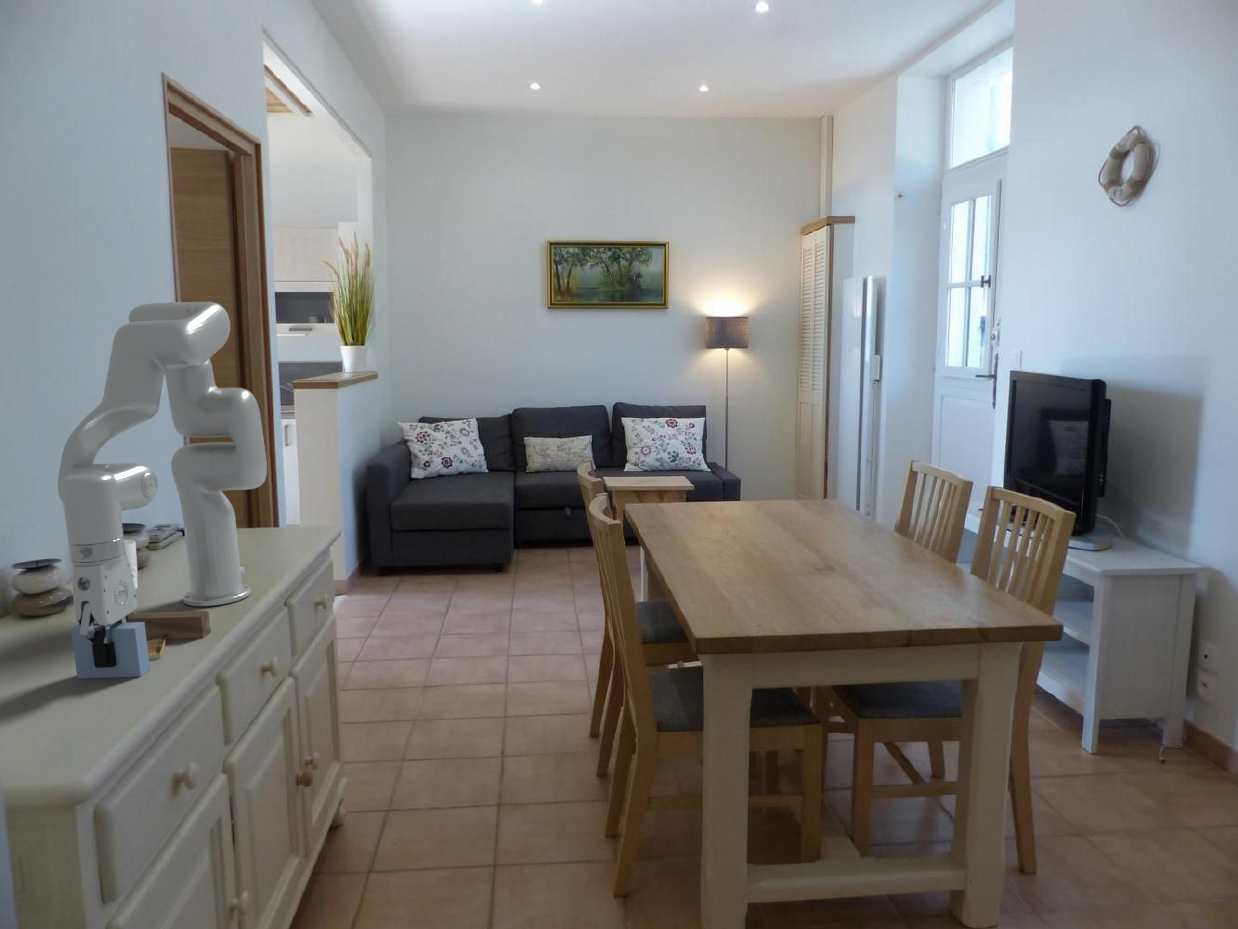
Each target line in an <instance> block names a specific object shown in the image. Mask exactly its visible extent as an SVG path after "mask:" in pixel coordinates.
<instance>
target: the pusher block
mask: <svg viewBox="0 0 1238 929" xmlns="http://www.w3.org/2000/svg"><path fill="white" fill-rule="evenodd" d="M80 628H81V627H80V626H79V625H78V626H76V627H75V628H73V629H71V630H70V634H71V639H72V641H71V642H72V647H73V648H72V650H73V656H74V662H75V663H74V664H75V670H76V676H77V677H76V678H77V679H78V680H79V679H82V680H83V679H84V680H85V679H105V678H106V679H107V678H108V679H111V678H113V679H114V678H134V677H135V678H137V677H139V678H141V677H142V676H144V675H145V674H146V673H148V671H150V670H151V666H150V665H151V664H150V661H149V656H148V648H147V641H148V640H146V631H145V623H144V622H131V623H115V624H113V625H111V626H110V635H111V642H114V647H115V655H116V663H117V665H116V666H114V667H105V668H96V667H95V665H94V658H93V650H92V645H90V643H89V640H88V639H87V638H84V637H81V636H80ZM96 631H100V632H102V633H103V629H96Z"/></svg>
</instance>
